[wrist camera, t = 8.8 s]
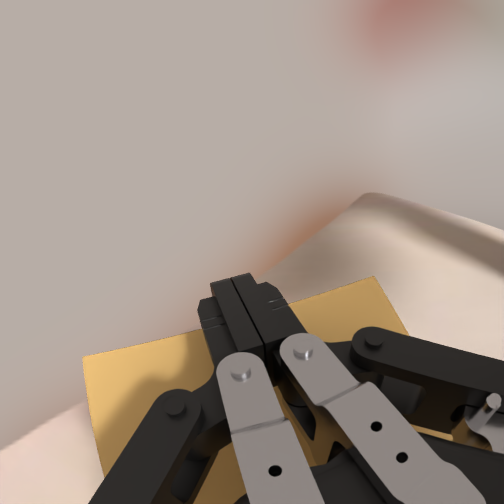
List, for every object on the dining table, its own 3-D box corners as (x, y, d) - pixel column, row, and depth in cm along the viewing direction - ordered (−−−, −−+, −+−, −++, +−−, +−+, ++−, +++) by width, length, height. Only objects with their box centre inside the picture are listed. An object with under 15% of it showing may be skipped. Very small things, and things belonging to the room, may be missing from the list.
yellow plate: (507, 510, 6) (390, 269, 14) (165, 655, 3) (62, 360, 11) (486, 511, 7) (378, 288, 15) (172, 640, 4) (78, 373, 12)
